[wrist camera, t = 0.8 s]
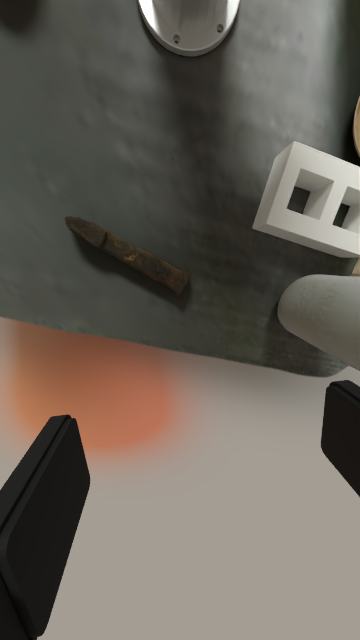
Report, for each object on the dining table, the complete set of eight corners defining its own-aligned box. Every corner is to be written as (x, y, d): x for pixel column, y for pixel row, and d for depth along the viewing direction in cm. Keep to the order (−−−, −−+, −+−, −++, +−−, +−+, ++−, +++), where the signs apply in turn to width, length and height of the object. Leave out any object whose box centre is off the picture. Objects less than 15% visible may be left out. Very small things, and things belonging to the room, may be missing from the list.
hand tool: (190, 273, 37) (195, 275, 33) (177, 295, 38) (180, 299, 33) (80, 203, 33) (67, 193, 29) (67, 228, 34) (53, 222, 29)
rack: (275, 157, 34) (294, 140, 29) (367, 193, 36) (400, 183, 31) (251, 228, 36) (266, 223, 31) (340, 257, 38) (367, 257, 33)
